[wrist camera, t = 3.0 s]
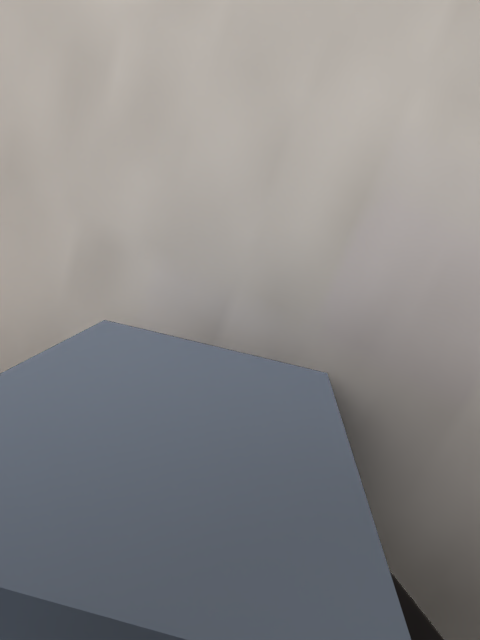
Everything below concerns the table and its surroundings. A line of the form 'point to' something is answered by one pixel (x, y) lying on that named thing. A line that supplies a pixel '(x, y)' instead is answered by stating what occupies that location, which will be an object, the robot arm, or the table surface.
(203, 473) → the slate block
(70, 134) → the table surface
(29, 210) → the table surface
